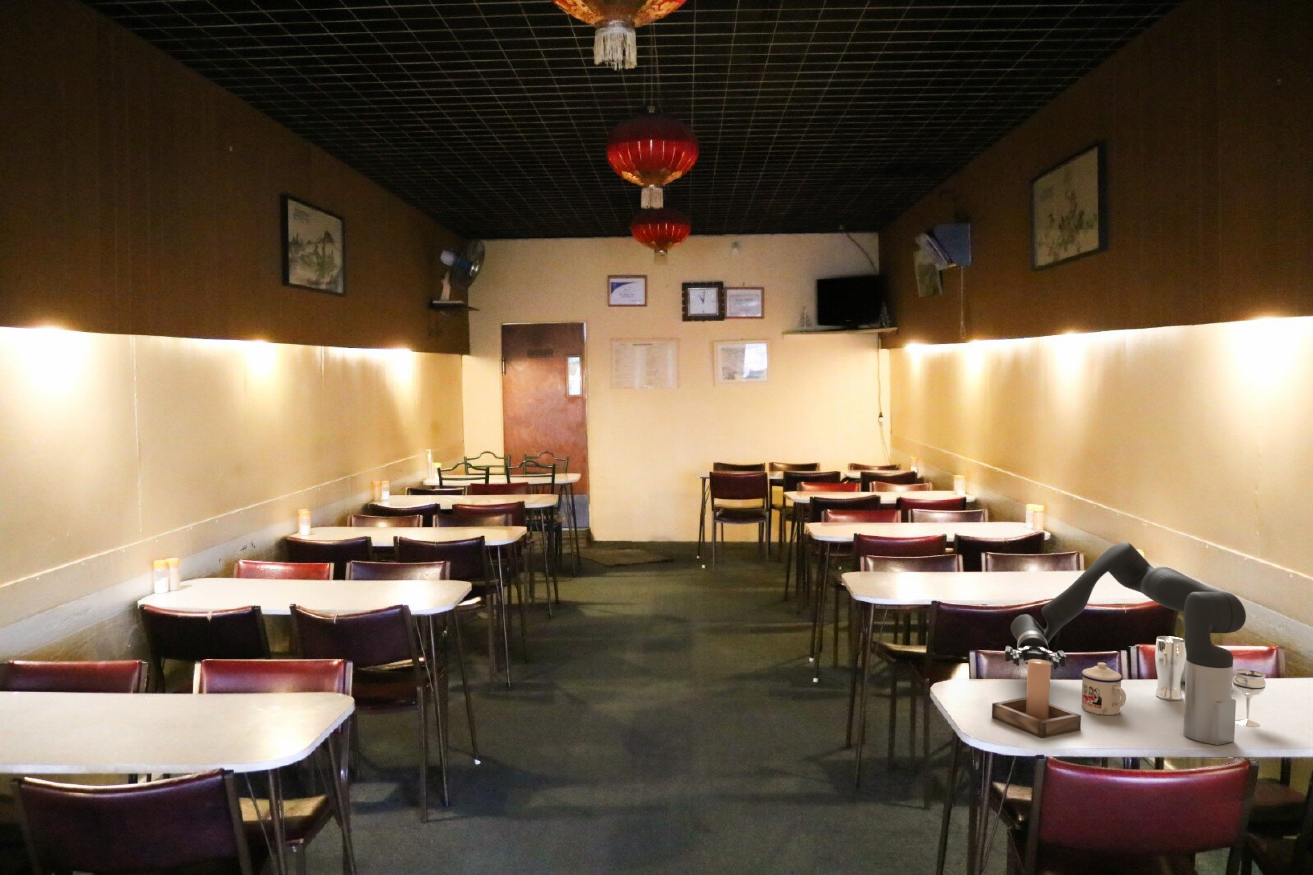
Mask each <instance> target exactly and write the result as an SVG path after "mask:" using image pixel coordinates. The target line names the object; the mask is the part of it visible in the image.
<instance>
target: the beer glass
mask: <svg viewBox="0 0 1313 875" xmlns="http://www.w3.org/2000/svg"><path fill="white" fill-rule="evenodd" d="M1154 660H1155V669H1156V674H1157V688H1156V691H1155V696H1156V697H1157V696H1158V697H1157V698H1159V699H1162V700H1166V701H1167V700H1168V701H1173V700H1178V701H1182V699H1183V694H1182V682H1181V681H1182V676H1183V672H1184V668H1185V662H1186V649H1185V640H1184V638H1181V637H1175V636H1169V635H1168V636H1166V635H1163V636H1162V635H1160V636H1157V637H1156V642H1155V652H1154Z"/></svg>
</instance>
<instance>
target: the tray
mask: <svg viewBox="0 0 1313 875" xmlns="http://www.w3.org/2000/svg"><path fill="white" fill-rule="evenodd" d="M991 705H992V706H991V718H992V719H994V720H996V721H999V722H1001V723H1004V724H1006V725H1009V726H1012V727H1013V728H1016V729H1018V730H1021V731H1024V732H1026V733H1028V734H1031V735H1034V736H1035V737H1038V738H1040V739H1044V738H1045V739H1046V738H1050V737H1054V736H1059V735H1064V734H1068V733H1073V732H1077V731H1081V729H1082V726H1081V725H1082V724H1081V723H1082V715H1081V714H1079V713H1076V712H1073V711H1071V710H1069V709H1065V708H1063V707H1059V706H1057V705H1054V704H1052V703H1049V716H1048V719H1047V720H1039V719H1037V718H1034V717H1032V716H1029V715H1026V697H1025V696H1024V697H1019V698H1014V699H1007V700H1003V701H997V702H992V703H991Z"/></svg>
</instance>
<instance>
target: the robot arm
mask: <svg viewBox="0 0 1313 875" xmlns="http://www.w3.org/2000/svg"><path fill="white" fill-rule="evenodd" d="M1107 573H1109V574H1110V575H1111V576H1112V577H1113V579H1115V581H1116V582H1118V584H1120V585H1121V586H1123V587H1124V588H1127V589H1130V590H1132V591H1136V592H1137V593H1138V592H1139V593H1141V594H1142V595H1144V596H1145V597H1147V598H1148V599H1150V600H1152V601H1153V602H1155V603H1157V604H1158V605H1160V606H1162V607H1164V608H1166V609H1169V610H1173V611H1176V612H1181V613H1183V624H1184V631H1183V632H1184V636H1183V637H1184V638H1183V640H1185V649H1186V678H1185V684H1184V685H1185V686H1184V704H1183V708H1184V709H1183V735H1184V736H1185V737H1187V738H1189V739H1191V740H1193V741H1196V742H1197V741H1198V742H1200V743H1205V744H1212V745H1215V746H1220V745H1224V744H1230V743H1233V742H1235V738H1236V737H1235V736H1236V735H1235V732H1236V722H1235V721H1236V713H1237V712H1236V710H1237V709H1236V708H1237V707H1236V705H1237V702H1236V699H1234V698H1232V697H1233V695H1232V694H1233V680H1232V679H1233V676H1234V672H1233V670H1234V655H1233V653H1232V652H1231V651H1230V650H1228V649H1226V648H1223V647H1221V646H1217V645H1216V644H1214V643H1212V639H1211V634H1232V633H1235V632H1237V631H1239V630H1241V629H1242V628H1243V626H1244V625H1245V624H1246V619H1247V613H1246V609H1245V607H1244V605H1243V603H1242V602H1241V600H1240V599H1239V597H1237V596H1236V595H1235V594H1233V593H1230V592H1227V591H1223V590H1220V589H1216V588H1214V587H1210V586H1208V585H1205V584H1204V583H1201V582H1200V581H1198V580H1196V579H1194V578H1192V577H1189V576H1187V575H1185V574H1183V573H1182V572H1179V571H1178V570H1175V569H1174V568H1170V567H1167V566H1158V567H1153V566H1152V565H1151V564H1150V563H1149V562H1148V561H1147V559H1145V558H1144V556H1143V555H1142V554H1141V553H1140V552H1139V551H1138V549H1136V548H1135V547H1134V545H1132V543H1130V542H1127V541H1122V542H1118V543H1116V544H1114V545H1112V546H1111V547H1109V548H1107V550H1105V552H1103V553H1102V555H1100V556H1099V557H1098V558H1096V560H1095V561H1094V562H1093V563H1092V564H1091V565H1090V566H1089V567H1088V568H1087V569H1086V570H1085V571H1084V572H1083V573H1082V574H1081V575H1080V576H1079V577H1078V578H1076V579H1075V581H1074V582H1073V583H1072V584H1071V585H1069V586H1068V587H1067V588H1066V589H1065V590H1064V591H1062V592H1061V593H1060V594H1058V595H1057V596H1055V598H1053V599H1052V600H1050V601H1049V602H1048V603H1046V604H1045V605H1044V606H1043V607H1042V608H1041V609H1040V610H1041V614H1042V617H1044V619H1045V622H1046V624H1047V626H1046V628H1043V627H1042V626H1041V625H1040V624H1039V622H1038V621H1037V620H1036V619H1035V618H1034V617H1033V616H1032V615H1030V614H1027V613H1026V614H1020V615H1018V616H1017V617H1015V618H1014V619H1013V621H1012V622H1011V625H1010V632H1011V633H1012V635H1013V637H1014V638H1015V639H1016V641H1017V645H1016V646H1017V648H1016V649H1013V647H1011V646H1009V645H1007V646H1005V650H1004V662H1010V661H1012V664H1014V665H1015V666H1016V667H1019V666H1020V664H1026V665H1028V660H1031V659H1039V660H1045V661H1048V662H1050V663H1051V666H1052V670H1057V669H1059V668H1060V667H1066V666H1067V662H1066V661H1067V655H1066V654H1065V652H1064V651H1063V650H1060V649H1059V650H1058V651H1056V653H1055V652H1053V651H1051V650H1050V648H1049V645H1048V644H1049V643H1050V641H1051V640H1052V639H1053V637H1054V636H1055V635H1056V634H1057V632H1059V630H1060V629H1062V628H1063V627H1064V626H1066V625H1067V624H1068V623H1070V621H1072V620H1073V619H1075V618H1076V617H1077V616H1079V615H1080V614H1081V613H1082V612H1083V611H1084V610H1085V608H1086V606H1087V605H1088V602H1089V600H1090V598H1091V595H1092V592H1093V590H1094V588H1095V587H1096V584H1097V583H1098V581H1099V580H1101V578H1102V577H1103V576H1104V575H1105V574H1107Z"/></svg>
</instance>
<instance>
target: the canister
mask: <svg viewBox="0 0 1313 875" xmlns="http://www.w3.org/2000/svg"><path fill="white" fill-rule="evenodd" d="M1051 666H1052V665H1051V663H1050V662H1048V661H1045V660H1039V659H1031V660H1028V664H1027V673H1026V674H1027V677H1026V715H1029V716H1032V717H1034V718H1037V719H1039V720H1047V719H1048V716H1049V704H1050V688H1051Z"/></svg>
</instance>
